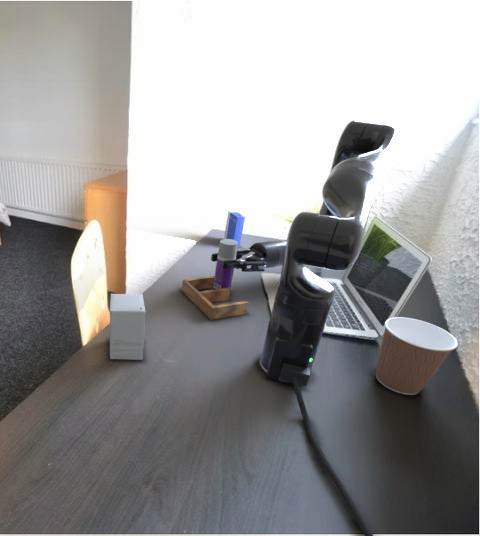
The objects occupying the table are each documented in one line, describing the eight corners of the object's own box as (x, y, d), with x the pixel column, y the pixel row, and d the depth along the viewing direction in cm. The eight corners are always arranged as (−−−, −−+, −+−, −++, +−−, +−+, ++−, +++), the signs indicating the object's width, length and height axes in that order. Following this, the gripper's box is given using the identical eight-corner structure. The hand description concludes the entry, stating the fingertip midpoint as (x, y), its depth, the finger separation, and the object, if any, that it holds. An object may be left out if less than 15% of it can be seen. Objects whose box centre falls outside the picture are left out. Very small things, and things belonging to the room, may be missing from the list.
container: (231, 295, 104) (239, 245, 98) (213, 294, 105) (220, 244, 99) (228, 287, 108) (236, 239, 102) (212, 286, 109) (218, 238, 103)
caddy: (211, 320, 95) (213, 308, 93) (181, 290, 109) (182, 279, 107) (246, 314, 97) (248, 302, 95) (212, 286, 111) (213, 275, 109)
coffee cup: (446, 402, 69) (475, 349, 64) (389, 402, 69) (413, 350, 64) (403, 364, 78) (425, 316, 73) (353, 365, 78) (372, 316, 73)
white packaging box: (141, 340, 87) (144, 293, 82) (142, 361, 81) (146, 311, 75) (109, 339, 88) (110, 292, 83) (108, 359, 82) (109, 310, 76)
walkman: (239, 247, 136) (245, 216, 131) (232, 247, 136) (237, 216, 131) (230, 239, 143) (235, 209, 138) (223, 240, 143) (228, 209, 138)
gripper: (257, 233, 110) (204, 239, 107) (292, 251, 97) (234, 259, 94) (252, 256, 113) (202, 263, 110) (286, 277, 101) (230, 285, 97)
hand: (217, 261), depth 102 cm, fingers closed on container, 4 cm apart
